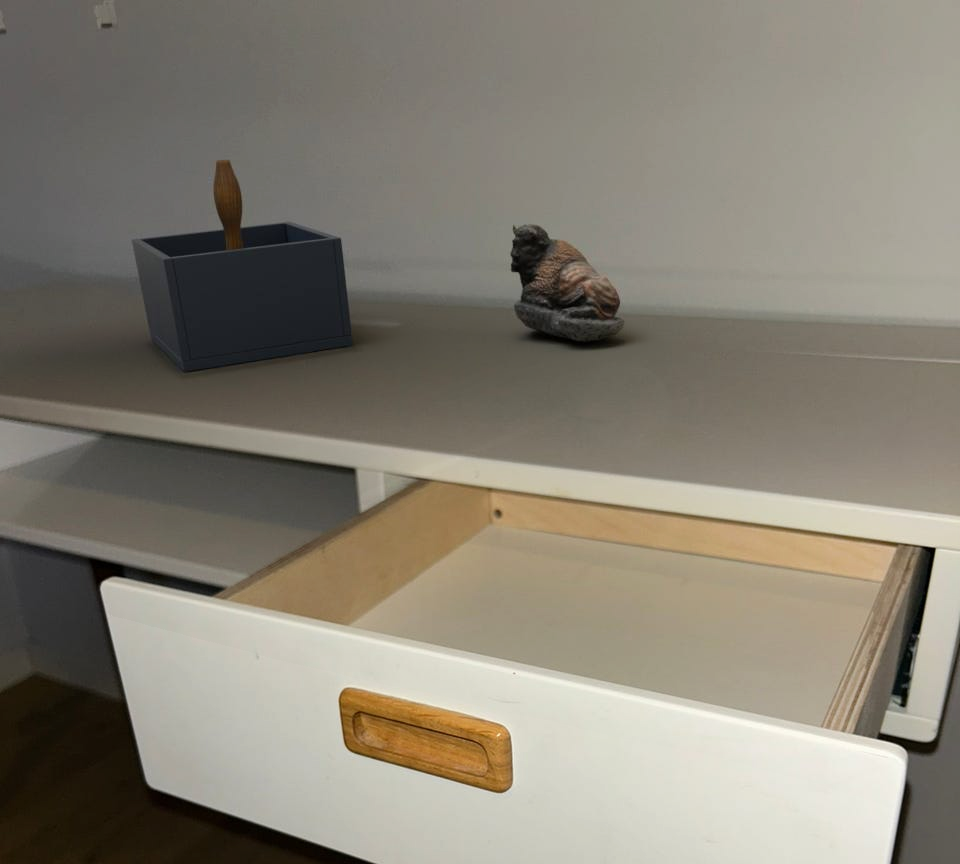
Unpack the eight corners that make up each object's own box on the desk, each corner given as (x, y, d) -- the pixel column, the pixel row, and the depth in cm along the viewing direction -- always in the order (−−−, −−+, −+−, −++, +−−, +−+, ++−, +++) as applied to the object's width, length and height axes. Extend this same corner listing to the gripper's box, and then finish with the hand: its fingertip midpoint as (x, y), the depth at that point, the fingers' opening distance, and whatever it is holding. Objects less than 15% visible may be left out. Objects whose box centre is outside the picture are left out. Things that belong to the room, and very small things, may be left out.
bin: (184, 372, 99) (163, 259, 94) (151, 339, 112) (131, 239, 107) (353, 345, 105) (341, 237, 100) (302, 317, 118) (290, 221, 113)
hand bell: (254, 320, 113) (229, 156, 106) (304, 328, 108) (282, 156, 101) (188, 336, 108) (157, 164, 100) (238, 345, 103) (209, 165, 95)
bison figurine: (637, 338, 101) (638, 224, 96) (590, 353, 97) (590, 236, 92) (540, 324, 108) (537, 219, 104) (493, 338, 104) (488, 229, 99)
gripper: (-131, -173, 81) (-73, 34, 87) (139, -170, 89) (175, 20, 95) (-130, -152, 86) (-76, 42, 92) (125, -151, 94) (160, 29, 100)
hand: (53, 31), depth 94 cm, fingers open, 8 cm apart
